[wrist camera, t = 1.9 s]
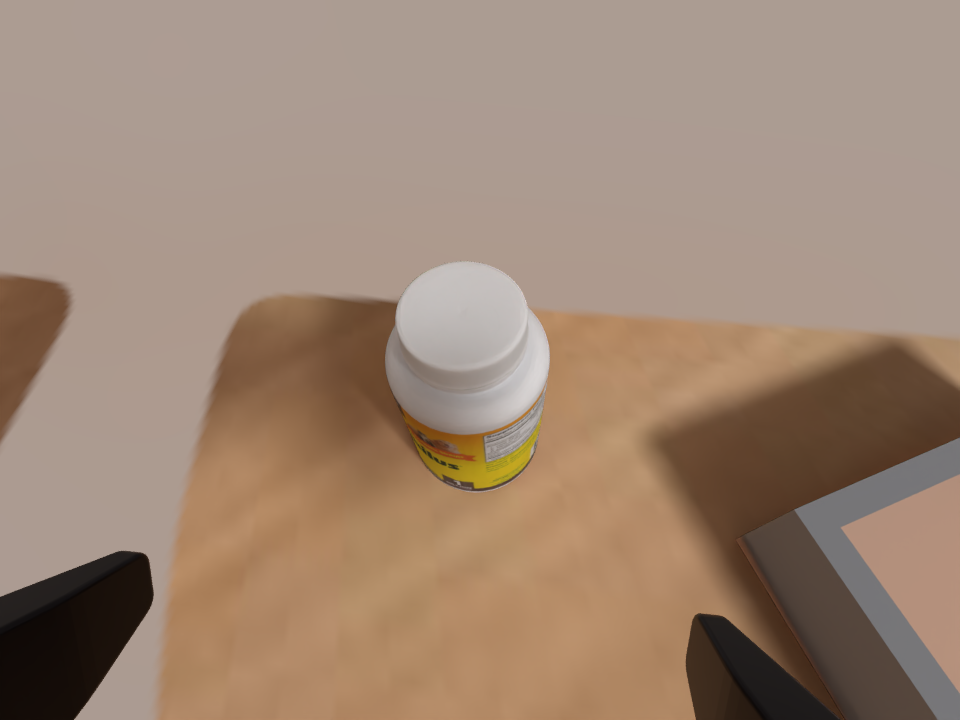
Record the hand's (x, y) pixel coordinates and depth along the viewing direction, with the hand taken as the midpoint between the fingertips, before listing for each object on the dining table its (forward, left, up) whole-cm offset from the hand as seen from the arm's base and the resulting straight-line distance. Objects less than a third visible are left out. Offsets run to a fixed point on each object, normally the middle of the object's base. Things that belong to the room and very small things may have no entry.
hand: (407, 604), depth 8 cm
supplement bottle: (+3, +7, -14) cm, 16 cm away
